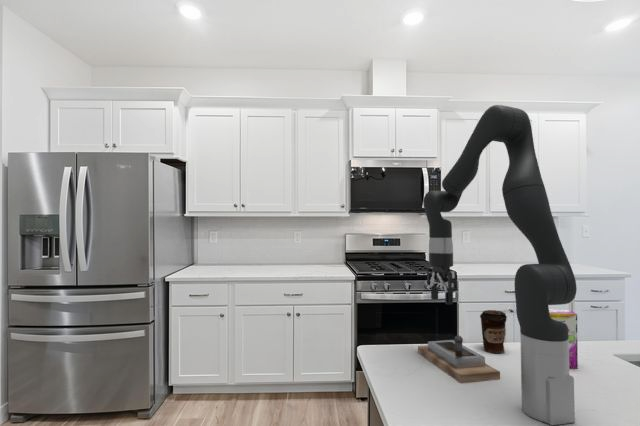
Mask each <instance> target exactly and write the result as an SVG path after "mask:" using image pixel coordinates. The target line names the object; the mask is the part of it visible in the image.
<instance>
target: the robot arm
mask: <svg viewBox="0 0 640 426" xmlns="http://www.w3.org/2000/svg"><path fill="white" fill-rule="evenodd" d="M532 128H533V127H532V124H531V119H530V117H529V115H528V113H527V112H526V111H525V110H523V109H521V108H518V107H512V106H508V105H503V104H494V105H492V106H490V107H488V108H487V109H486V110H485V111H484V112H483V114H482V115H481V117H480V118H479V120H478V122H477V124H476V126H475V127H474V129H473V131H472V133H471V135H470V136H469V138H468V140H467V142H466V145H465V147H464V149H463V150H462V152H461V154H460V155H459V158H458V159H457V160H456V161H455V163H454V164H453V166H452V167H451V168H450V170H449V171H448V173H447V174H446V175H445V176H444V178H443V179H442V181H441V187H442V188H443V190H429V191H428V192H426V194H425V195H424V198H423V208H424V213H425V215H426V218H427V222H428V227H429V231H428V232H429V234H428V235H429V239H428V266H430V267H426V285H427V286H429V288H430V298H431V300H433V301H434V300H435V301H436V300H437V301H438V300H439V285H441V287H443V290H444V292H445V293H444V298H445V299H444V300H445V301H444V302H445V304H446V305H450V306H451V305H453V304H454V296H453V295H454V292H457V291H458V290H459V289H458V274H457V271H455V270H454V271H451V268H452V267H453V266H454V245H453V244H454V243H453V242H454V241H453V232H452V231H453V226H452V222H451V220H449V219H445V218H443V216H442V213H451V212H452V211H453V210H455V209H457V206H458V204H459V201H460V200H461V197H462V195H463V193H464V191H465V190H466V189H467V187H468V186H469V185H470V184H471V183H472V182H473V181H474V179H475V178H476V176H477V174H478V171H479V165H480V157H481V155H482V153H483V151H484V150H485V149H486V147H488V145H490V143H492V142H498V143H503V144H504V146H505V148H506V151H507V156H508V163H509V164H508V168H507V171H506V173H505V175H504V179H503V183H502V188H501V192H502V197H503V201H504V206H505V210H506V213H507V216H508V217H509V219H510V220H511V222H512V223H513V224H514V225H515V227H516V228H517V229H518V230H519V231H520V232H521V233H522V235H524V237H525V238H526V239H527V240H528V242H529V243H530V245H531V246H532V249H533V250H534V253H535V255H536V259H537V262H538V263H526V264H522V265H521V266H520V267H518V269H516V272H515V275H514V277H515V278H514V298H515V299H514V300H515V309H516V318H517V322H518V324H519V328H520V329H519V332H520V334H519V335H520V336H519V337H520V379H521V380H520V381H521V382H520V385H521V387H520V390H521V409H522V411H523V412H524V413H525V415H528V416H529V417H531V418H532V419H535V420H536V421H541V422H542V423H546V424H549V425H550V426H557V425H564V424H572V423H575V422H576V413H575V411H576V409H575V407H576V405H575V378H574V376H573V375H570V368H569V339H568V338H569V335H568V327H567V326H566V325H565V324H564V323H562V322H559V321H556V320H553V319H552V318H551V317H550V314H549V309H550V308H549V306H556V305H558V306H559V305H567V304H570V303H572V302H573V301H574V299H575V297H576V294H577V289H578V288H577V282H576V281H577V280H576V277H575V274H574V271H573V268H572V266H571V263H570V260H569V259H568V256H567V254H566V251H565V248H564V247H563V244H562V241H561V239H560V235H559V233H558V230H557V226H556V223H555V221H554V216H553V213H552V209H551V206H550V201H549V197H548V194H547V190H546V188H545V184H544V181H543V178H542V175H541V172H540V171H541V170H540V166H539V161H538V158H537V154H536V149H535V145H534V144H535V143H534V142H535V141H534V136H533V129H532Z"/></svg>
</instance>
